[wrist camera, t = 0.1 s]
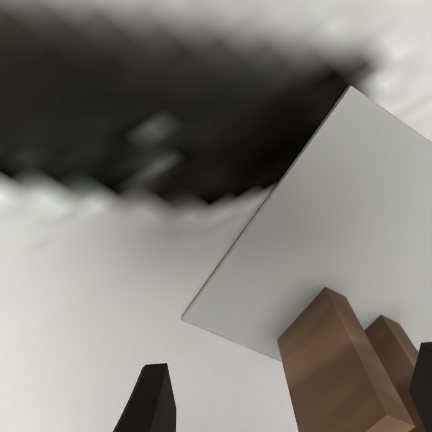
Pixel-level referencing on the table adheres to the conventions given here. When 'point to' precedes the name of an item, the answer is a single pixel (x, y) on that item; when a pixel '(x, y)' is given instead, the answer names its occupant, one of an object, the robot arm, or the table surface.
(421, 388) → the robot arm
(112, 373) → the table surface
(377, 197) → the grey mat
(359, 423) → the domino
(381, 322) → the domino
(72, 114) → the table surface
